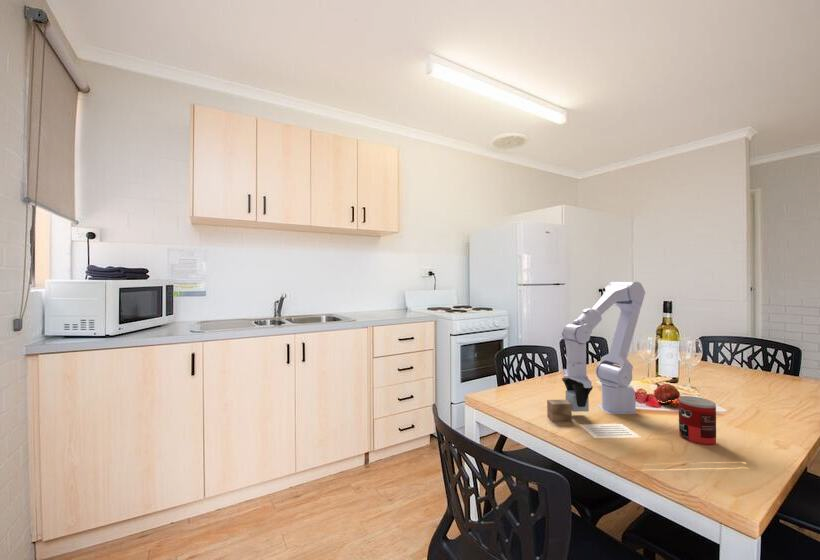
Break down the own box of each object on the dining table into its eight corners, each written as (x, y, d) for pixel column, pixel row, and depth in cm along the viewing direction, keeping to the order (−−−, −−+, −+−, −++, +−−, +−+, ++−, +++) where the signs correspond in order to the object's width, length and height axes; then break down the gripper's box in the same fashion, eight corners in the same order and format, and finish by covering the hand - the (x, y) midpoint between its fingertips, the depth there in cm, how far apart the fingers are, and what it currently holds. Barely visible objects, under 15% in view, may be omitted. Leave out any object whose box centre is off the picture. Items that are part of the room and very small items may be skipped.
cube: (580, 405, 116) (580, 390, 116) (588, 411, 111) (588, 395, 111) (565, 405, 116) (565, 390, 116) (573, 411, 111) (572, 395, 111)
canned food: (679, 431, 102) (679, 394, 102) (715, 439, 97) (715, 399, 97) (678, 441, 96) (677, 401, 96) (716, 450, 91) (716, 407, 91)
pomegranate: (683, 411, 122) (664, 387, 130) (692, 400, 118) (671, 375, 126) (662, 414, 122) (644, 390, 130) (671, 403, 118) (651, 378, 125)
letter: (621, 424, 107) (621, 423, 107) (641, 437, 98) (641, 437, 98) (579, 425, 107) (579, 424, 107) (595, 438, 98) (595, 437, 98)
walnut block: (565, 418, 113) (565, 399, 113) (571, 423, 109) (571, 403, 109) (547, 418, 113) (547, 399, 113) (552, 423, 109) (552, 404, 109)
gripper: (554, 356, 121) (555, 395, 121) (574, 367, 106) (575, 412, 106) (574, 356, 121) (575, 395, 121) (598, 366, 106) (598, 411, 106)
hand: (577, 403), depth 114 cm, fingers closed on cube, 5 cm apart
